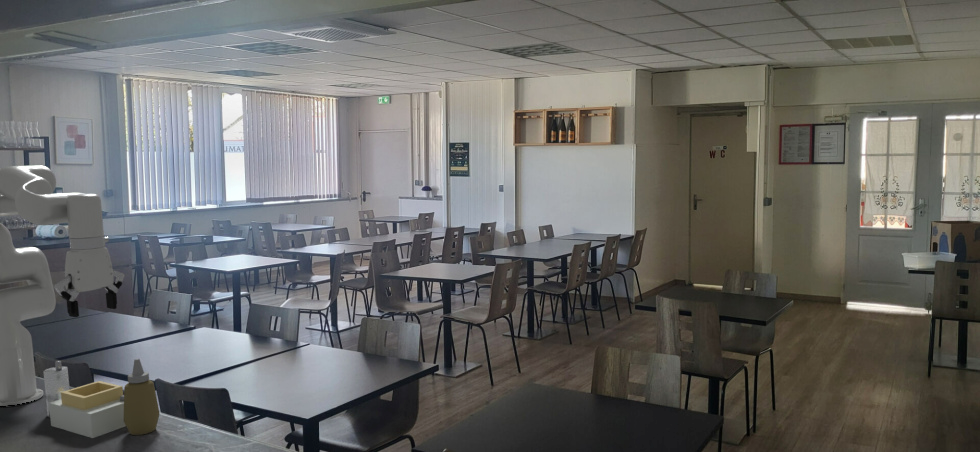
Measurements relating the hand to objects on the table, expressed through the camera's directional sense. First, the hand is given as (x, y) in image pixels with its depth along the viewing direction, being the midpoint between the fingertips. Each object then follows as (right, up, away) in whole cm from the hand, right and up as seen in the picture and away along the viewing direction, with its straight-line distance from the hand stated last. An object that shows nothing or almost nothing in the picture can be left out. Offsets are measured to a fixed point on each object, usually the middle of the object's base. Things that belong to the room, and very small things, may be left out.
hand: (93, 312), depth 183 cm
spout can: (-15, -28, +12) cm, 34 cm away
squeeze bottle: (+14, -29, -3) cm, 32 cm away
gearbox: (-1, -29, +4) cm, 29 cm away
